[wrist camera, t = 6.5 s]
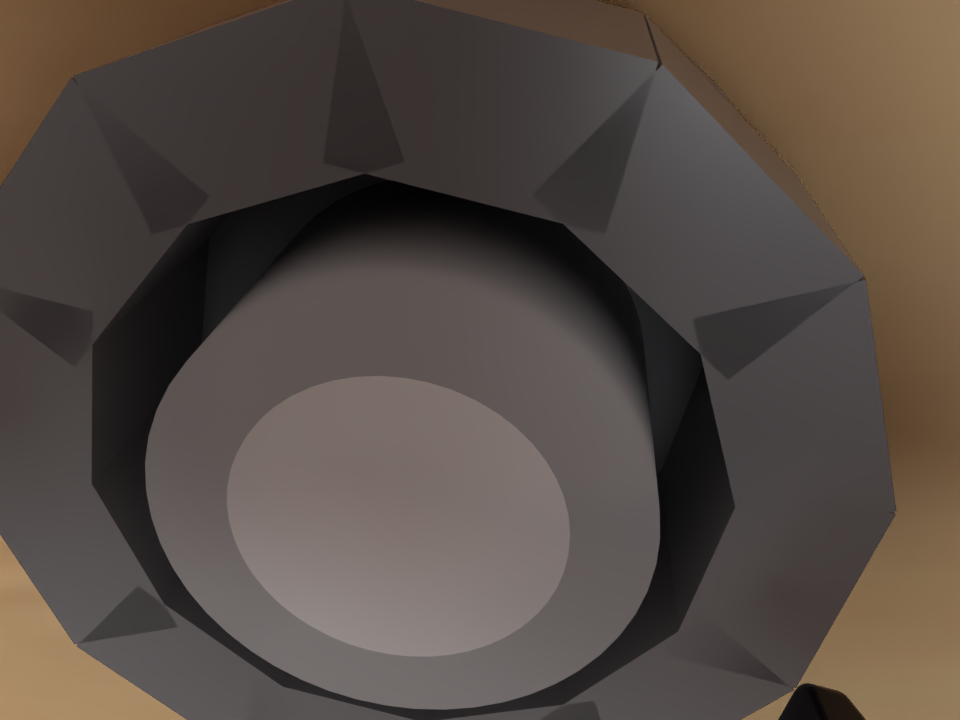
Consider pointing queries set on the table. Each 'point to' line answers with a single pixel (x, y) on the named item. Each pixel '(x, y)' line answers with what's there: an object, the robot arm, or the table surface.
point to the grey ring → (477, 177)
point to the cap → (416, 455)
